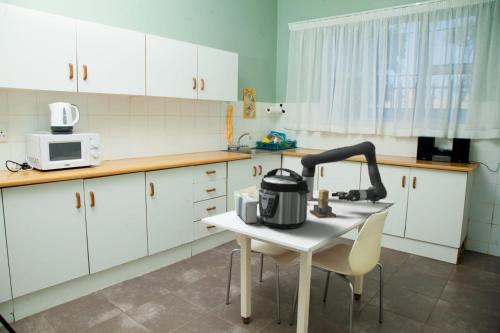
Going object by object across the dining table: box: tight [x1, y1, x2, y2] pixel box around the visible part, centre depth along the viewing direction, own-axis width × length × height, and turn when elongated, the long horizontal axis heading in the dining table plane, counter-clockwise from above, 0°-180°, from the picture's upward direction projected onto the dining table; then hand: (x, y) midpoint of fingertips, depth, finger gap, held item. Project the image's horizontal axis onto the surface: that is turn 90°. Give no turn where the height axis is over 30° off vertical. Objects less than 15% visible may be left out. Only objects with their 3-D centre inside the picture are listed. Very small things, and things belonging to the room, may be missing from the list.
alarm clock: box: [366, 185, 380, 204], centre depth 257 cm, size 11×5×16 cm, turn 84°
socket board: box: [309, 204, 337, 219], centre depth 224 cm, size 12×12×6 cm
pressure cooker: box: [258, 167, 310, 229], centre depth 203 cm, size 30×28×32 cm
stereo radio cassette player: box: [235, 188, 259, 224], centre depth 210 cm, size 21×8×20 cm, turn 17°
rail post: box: [317, 189, 330, 208], centre depth 223 cm, size 4×4×14 cm
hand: (335, 196), depth 225 cm, fingers open, 8 cm apart
